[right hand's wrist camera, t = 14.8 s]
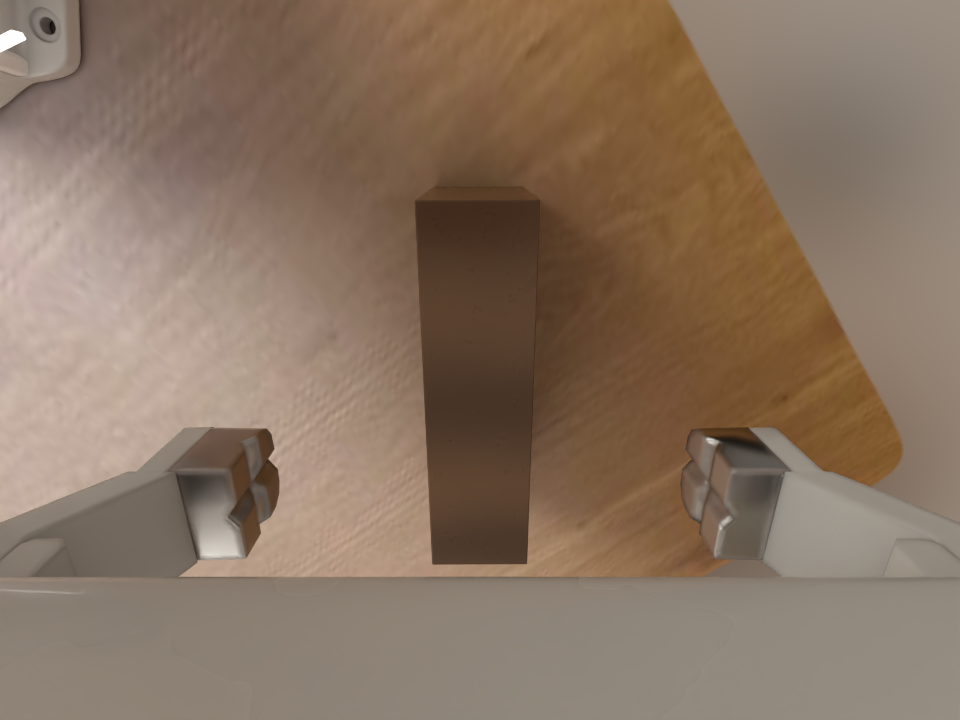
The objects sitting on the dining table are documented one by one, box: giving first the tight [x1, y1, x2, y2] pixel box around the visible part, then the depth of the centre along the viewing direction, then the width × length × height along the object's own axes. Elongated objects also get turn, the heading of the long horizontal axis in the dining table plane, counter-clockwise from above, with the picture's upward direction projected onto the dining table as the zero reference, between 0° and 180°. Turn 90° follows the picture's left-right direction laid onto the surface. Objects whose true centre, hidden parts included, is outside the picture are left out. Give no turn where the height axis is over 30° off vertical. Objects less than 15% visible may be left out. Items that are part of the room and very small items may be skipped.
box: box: [415, 187, 540, 564], centre depth 33 cm, size 21×6×10 cm, turn 0°
